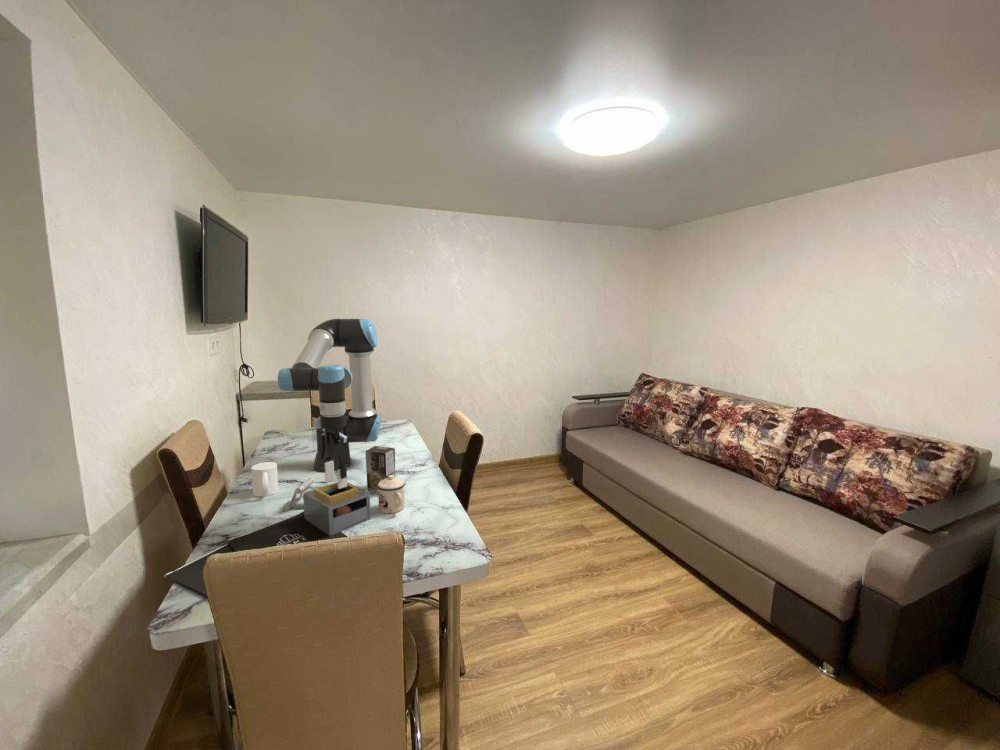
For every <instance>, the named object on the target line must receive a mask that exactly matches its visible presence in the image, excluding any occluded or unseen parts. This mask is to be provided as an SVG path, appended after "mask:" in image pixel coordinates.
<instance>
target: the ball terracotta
mask: <svg viewBox="0 0 1000 750" xmlns="http://www.w3.org/2000/svg"><path fill="white" fill-rule="evenodd" d="M350 511H352V510H351V508H350V507H348V506H345V505H344V506H341V507H339V508H338V509H337V510H336V512H335V517H337V516H340V515H342V514H345V513H347V512H350Z"/></svg>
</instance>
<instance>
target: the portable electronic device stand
mask: <svg viewBox="0 0 1000 750" xmlns="http://www.w3.org/2000/svg"><path fill="white" fill-rule="evenodd" d="M314 482H315V481H314V479H313V478H311V477H310V478H308V479H307V480H305V481H304V482H303V483H302V484H300V485H299V486H298V487H297V488H295V490H294V493H293V495H292V497H291V500H288V501H286V502H285V503H284V504H283V505H282V510H283V511H284V512H288V511H289V510H291V509H292V507H293V506H294V505H296V504H297V503H298V502H299V501H301V500H303V501H304V499H303V493H305V492H308V491H310V489H309V487H310V486H312V485H313V484H314ZM298 495H299V496H298Z"/></svg>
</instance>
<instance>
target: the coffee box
mask: <svg viewBox="0 0 1000 750" xmlns="http://www.w3.org/2000/svg"><path fill="white" fill-rule="evenodd" d="M395 451H396V448H395V447H388V446H387V447H385V446H377V445H374V446H372V447H370V448H369V449H367V450H365V468H366V469H365V470H366V472H365V473H366V487H367V489H366V491H367V492H369V493H370V492H371V493H375V494H376V493H377V494H378V487H377V486H378V483H379V482H380V481H382V480H384V479H387V478H388V476H389V475H393V476H394V477H395V478H397V477H396V452H395Z"/></svg>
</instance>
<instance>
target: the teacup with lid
mask: <svg viewBox="0 0 1000 750" xmlns="http://www.w3.org/2000/svg"><path fill="white" fill-rule="evenodd" d="M405 484H406V482H405V481H404V480H403V479H402V478H398V477H396V478H395V477H394V476H393V475H389V476H388V478H387V479H384V480H382V481H380V482H379V483H378V486H377V487H378V493H377V494H378V497H377V498H378V511H380V512H381V513H382V514H395V513H398V512H401V511H402V510H404V508H405V504H406V503H405Z"/></svg>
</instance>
